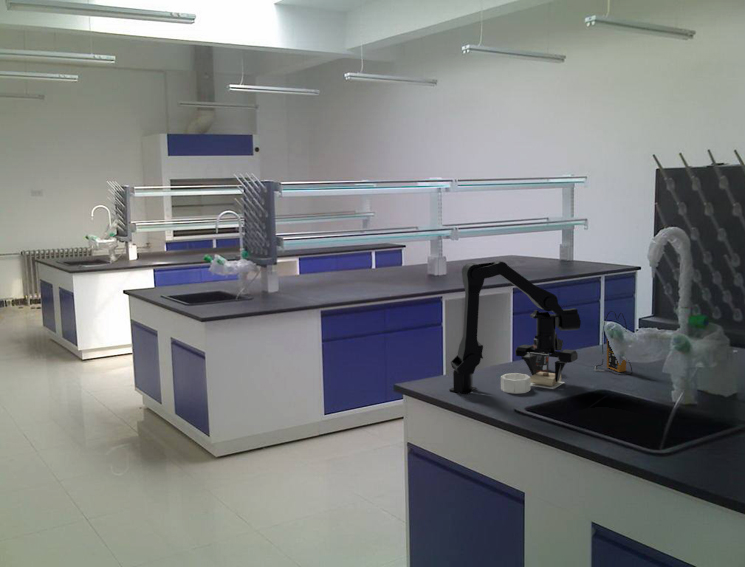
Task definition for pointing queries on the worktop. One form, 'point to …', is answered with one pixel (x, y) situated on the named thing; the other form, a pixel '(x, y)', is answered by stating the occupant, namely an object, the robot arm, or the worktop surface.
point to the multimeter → (613, 357)
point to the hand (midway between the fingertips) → (545, 379)
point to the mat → (547, 385)
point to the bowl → (515, 383)
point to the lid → (544, 378)
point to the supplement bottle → (541, 360)
